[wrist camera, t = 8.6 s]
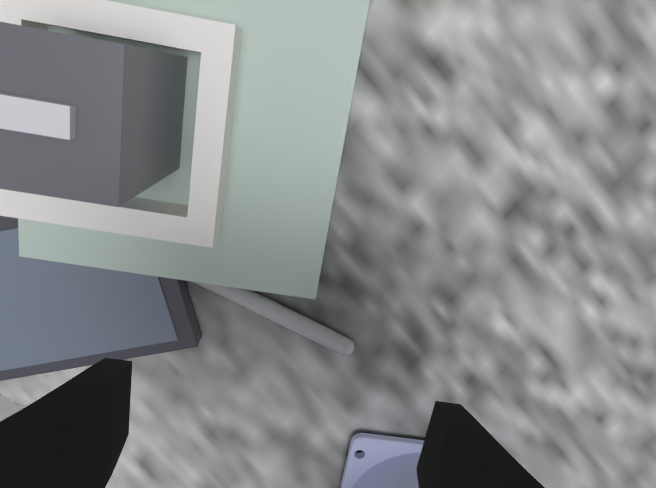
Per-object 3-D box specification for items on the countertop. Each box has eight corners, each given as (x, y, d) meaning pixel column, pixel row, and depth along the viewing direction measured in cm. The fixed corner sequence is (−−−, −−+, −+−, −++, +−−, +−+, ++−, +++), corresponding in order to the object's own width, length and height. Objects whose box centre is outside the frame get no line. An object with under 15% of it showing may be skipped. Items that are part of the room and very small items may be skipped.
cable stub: (356, 339, 22) (358, 348, 21) (347, 352, 22) (349, 362, 21) (179, 250, 20) (173, 256, 20) (171, 265, 20) (166, 272, 20)
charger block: (179, 168, 18) (113, 209, 12) (71, 150, 18) (-51, 184, 12) (187, 57, 17) (119, 43, 11) (71, 36, 17) (-64, 9, 11)
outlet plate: (315, 289, 21) (315, 317, 19) (33, 248, 20) (-7, 271, 18) (393, -141, 16) (407, -182, 14) (23, -225, 15) (-34, -284, 13)
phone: (201, 336, 22) (196, 347, 21) (-75, 384, 22) (-92, 397, 21) (156, 185, 19) (148, 190, 18) (-150, 242, 20) (-173, 249, 19)
